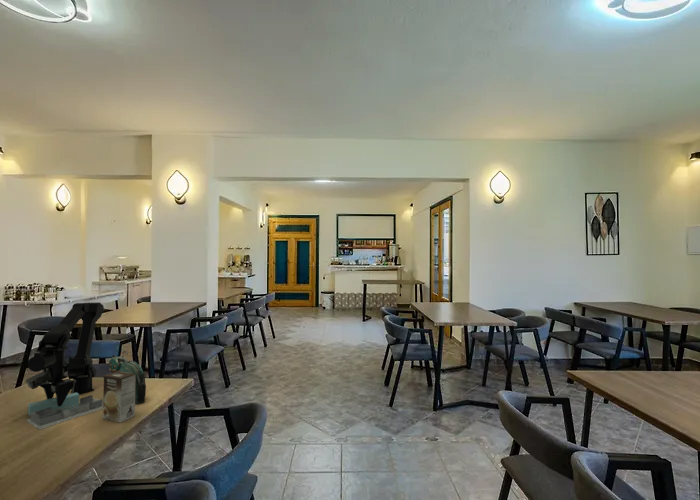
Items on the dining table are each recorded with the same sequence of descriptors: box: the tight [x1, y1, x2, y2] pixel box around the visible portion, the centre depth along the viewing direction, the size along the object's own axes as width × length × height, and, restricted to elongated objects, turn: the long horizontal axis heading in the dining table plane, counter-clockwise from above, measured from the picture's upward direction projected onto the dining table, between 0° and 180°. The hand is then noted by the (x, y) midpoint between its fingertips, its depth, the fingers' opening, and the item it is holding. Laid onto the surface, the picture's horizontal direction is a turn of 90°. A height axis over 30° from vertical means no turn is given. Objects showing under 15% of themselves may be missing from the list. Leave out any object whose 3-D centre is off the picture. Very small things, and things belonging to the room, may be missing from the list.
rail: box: [27, 392, 80, 417], centre depth 139 cm, size 15×4×4 cm, turn 141°
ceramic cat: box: [108, 350, 147, 405], centre depth 149 cm, size 20×6×20 cm, turn 63°
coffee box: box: [102, 371, 136, 424], centre depth 132 cm, size 9×6×16 cm
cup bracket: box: [26, 394, 103, 430], centre depth 134 cm, size 22×11×3 cm, turn 149°
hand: (54, 403), depth 139 cm, fingers open, 9 cm apart
